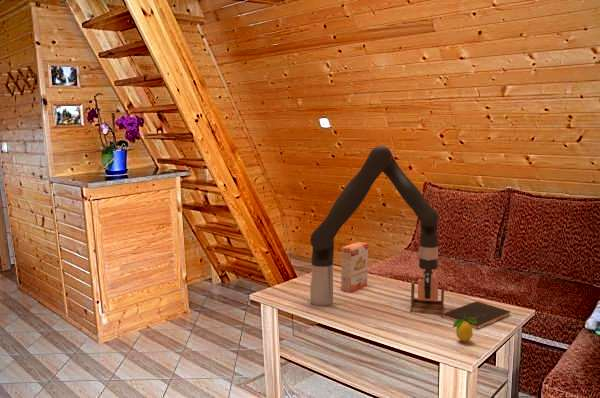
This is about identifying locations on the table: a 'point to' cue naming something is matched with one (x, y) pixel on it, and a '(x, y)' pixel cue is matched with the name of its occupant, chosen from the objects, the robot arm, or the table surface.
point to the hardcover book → (476, 313)
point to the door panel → (432, 292)
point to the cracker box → (354, 266)
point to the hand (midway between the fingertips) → (427, 296)
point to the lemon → (464, 328)
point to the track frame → (427, 303)
